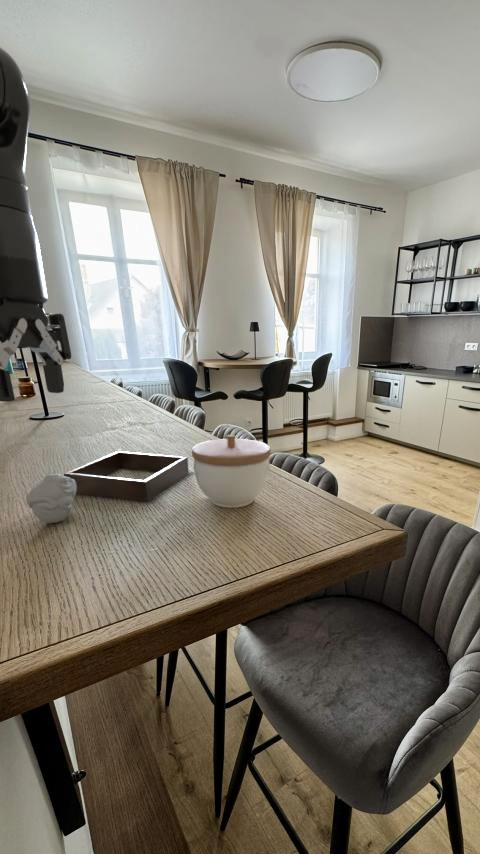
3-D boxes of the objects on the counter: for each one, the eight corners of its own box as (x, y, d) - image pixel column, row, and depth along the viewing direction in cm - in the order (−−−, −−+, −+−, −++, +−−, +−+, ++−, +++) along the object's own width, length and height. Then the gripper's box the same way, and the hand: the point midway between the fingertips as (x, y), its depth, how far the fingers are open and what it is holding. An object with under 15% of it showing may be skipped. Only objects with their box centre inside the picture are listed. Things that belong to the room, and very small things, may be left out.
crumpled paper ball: (91, 517, 62) (83, 473, 59) (45, 534, 56) (35, 486, 54) (67, 508, 65) (59, 466, 62) (21, 524, 59) (10, 478, 57)
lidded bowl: (180, 508, 66) (175, 440, 62) (215, 483, 77) (212, 425, 73) (254, 519, 62) (254, 448, 58) (279, 491, 74) (280, 430, 70)
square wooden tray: (66, 492, 71) (63, 473, 70) (119, 467, 86) (117, 451, 84) (147, 501, 68) (145, 482, 67) (188, 474, 82) (187, 457, 81)
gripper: (26, 266, 56) (48, 389, 62) (-82, 245, 43) (-41, 402, 49) (74, 266, 54) (91, 392, 60) (-24, 244, 42) (11, 406, 48)
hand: (32, 396), depth 55 cm, fingers open, 8 cm apart
